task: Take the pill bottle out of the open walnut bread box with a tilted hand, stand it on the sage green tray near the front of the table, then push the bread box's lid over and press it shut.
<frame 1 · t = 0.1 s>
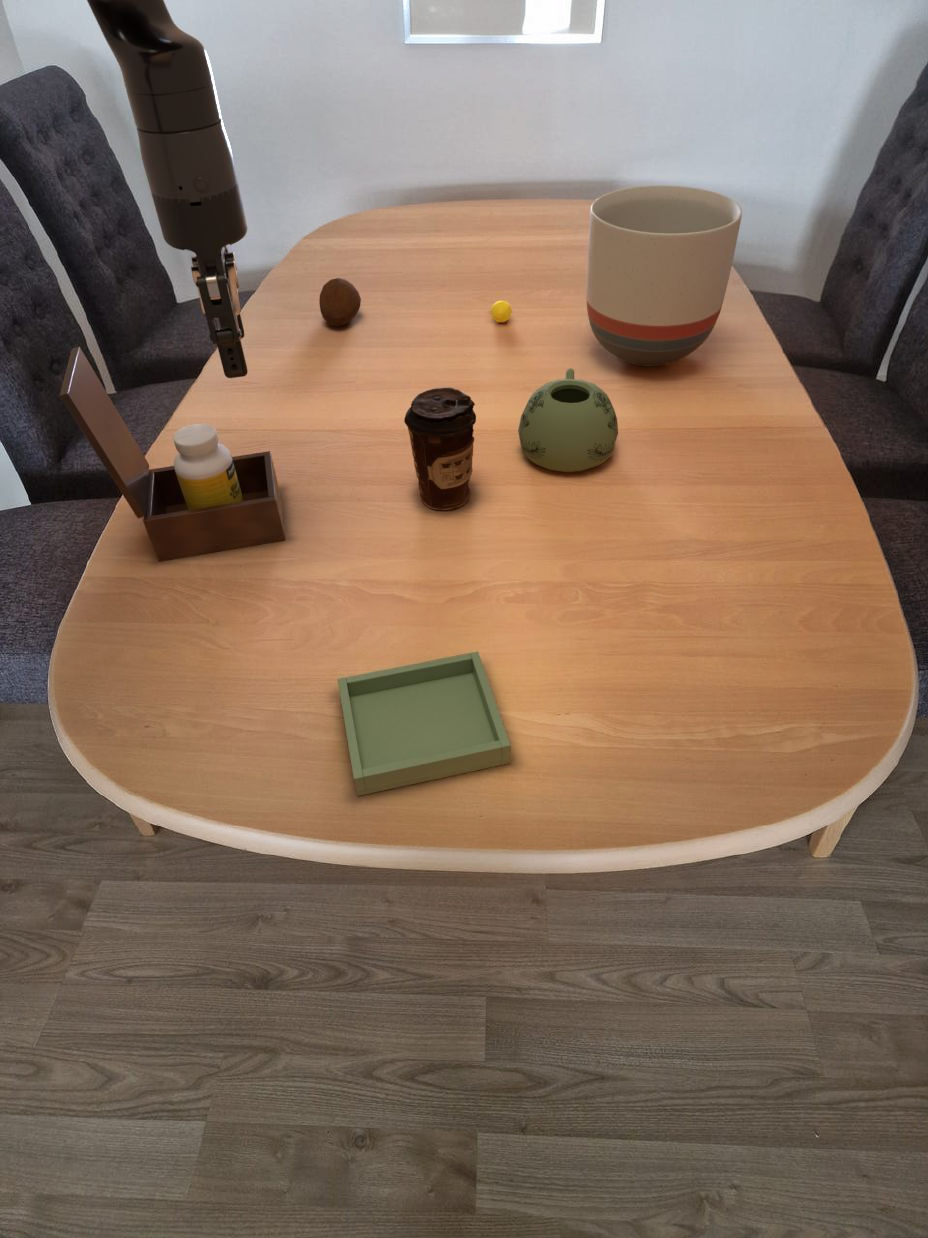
hand: (235, 356, 82), 22 cm above the table, tool pointing down, fingers open, 8 cm apart
tray: (422, 728, 74), on the table
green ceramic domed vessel: (566, 446, 108), on the table
breadbox lid: (109, 434, 87), point 14 cm above the table, hinge at 100.0°
coffee cup: (446, 497, 100), on the table
yellow rounded lump: (500, 319, 137), on the table
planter: (646, 356, 126), on the table
breadbox: (221, 524, 98), on the table
pill bottle: (220, 520, 97), point 1 cm above the table, touching breadbox
potato: (343, 320, 139), on the table
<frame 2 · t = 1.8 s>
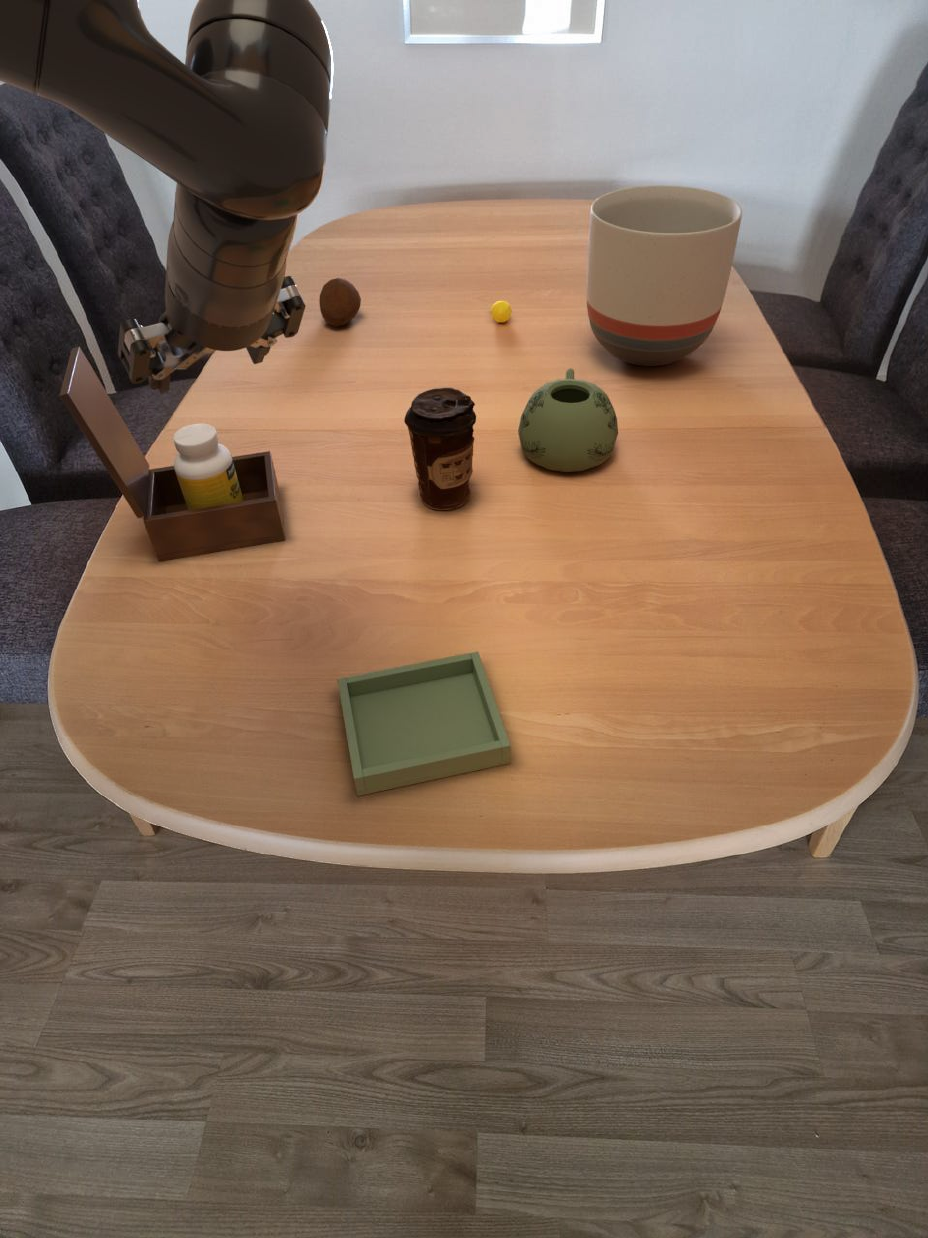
hand: (206, 367, 70), 26 cm above the table, tool tilted 45°, fingers open, 8 cm apart
nothing on the table moved.
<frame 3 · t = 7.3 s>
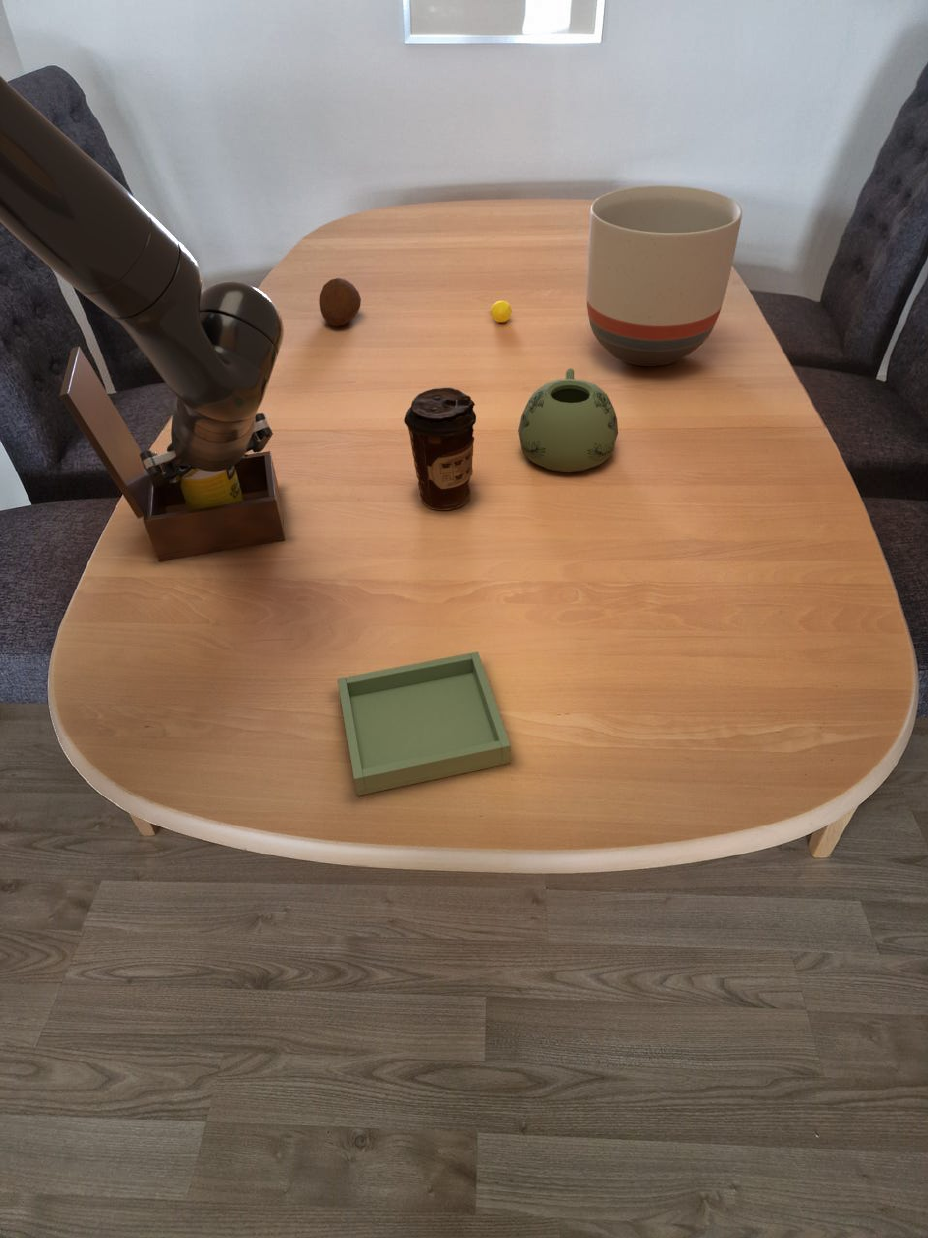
hand: (202, 469, 94), 7 cm above the table, tool tilted 45°, fingers closed on pill bottle, 6 cm apart
pill bottle: (220, 519, 97), point 1 cm above the table, touching breadbox, gripper
everything else where it was.
when the fingers open (7 cm above the table, at t = 20.5 s): pill bottle stays where it is, resting on tray.
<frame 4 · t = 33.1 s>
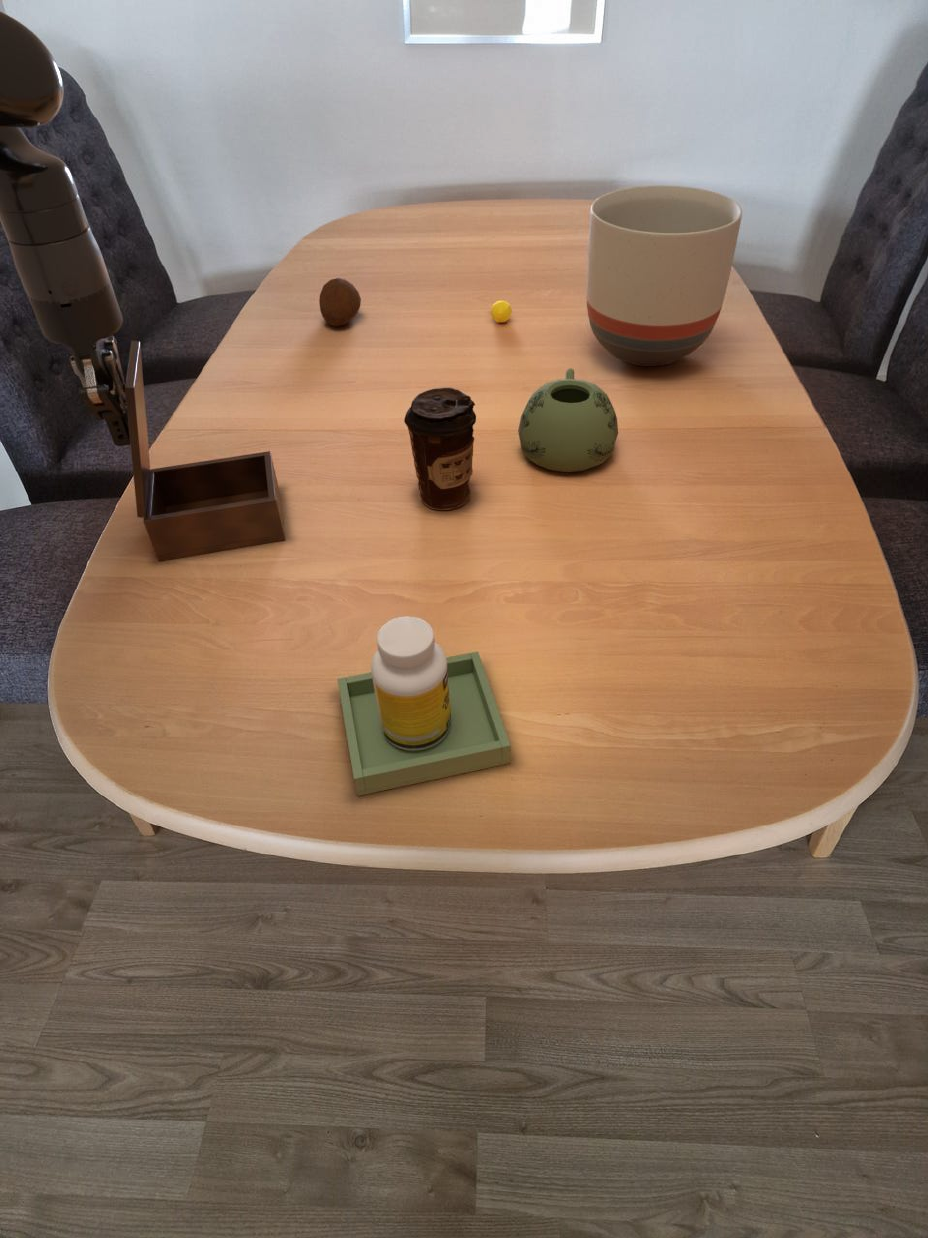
hand: (126, 441, 88), 13 cm above the table, tool pointing down, fingers closed
breadbox lid: (138, 430, 87), point 14 cm above the table, hinge at 77.1°, touching gripper
pill bottle: (416, 726, 74), resting on tray
everything else where it was.
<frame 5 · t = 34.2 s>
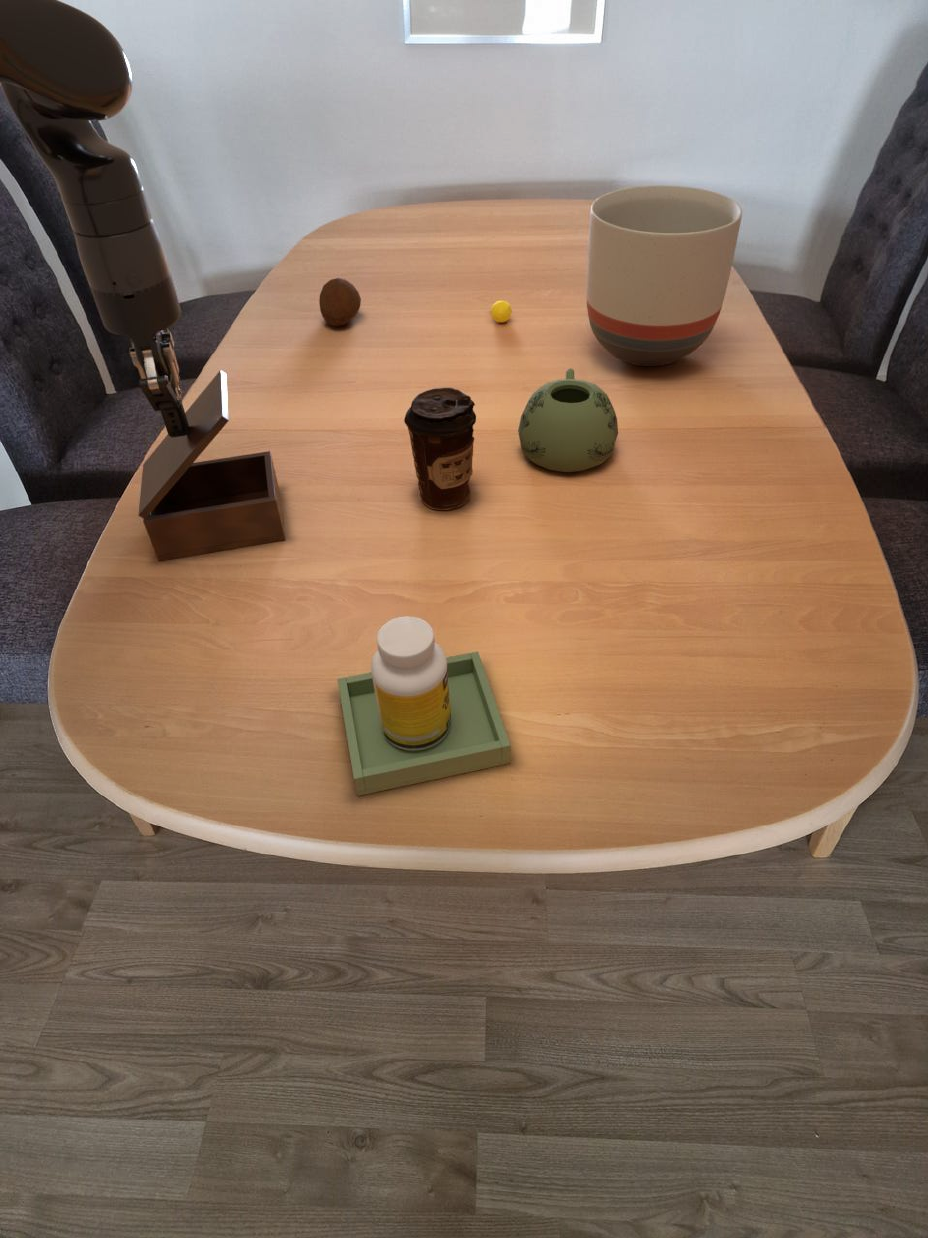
hand: (179, 433, 89), 13 cm above the table, tool pointing down, fingers closed
breadbox lid: (183, 443, 90), point 11 cm above the table, hinge at 41.8°, touching gripper
everything else where it was.
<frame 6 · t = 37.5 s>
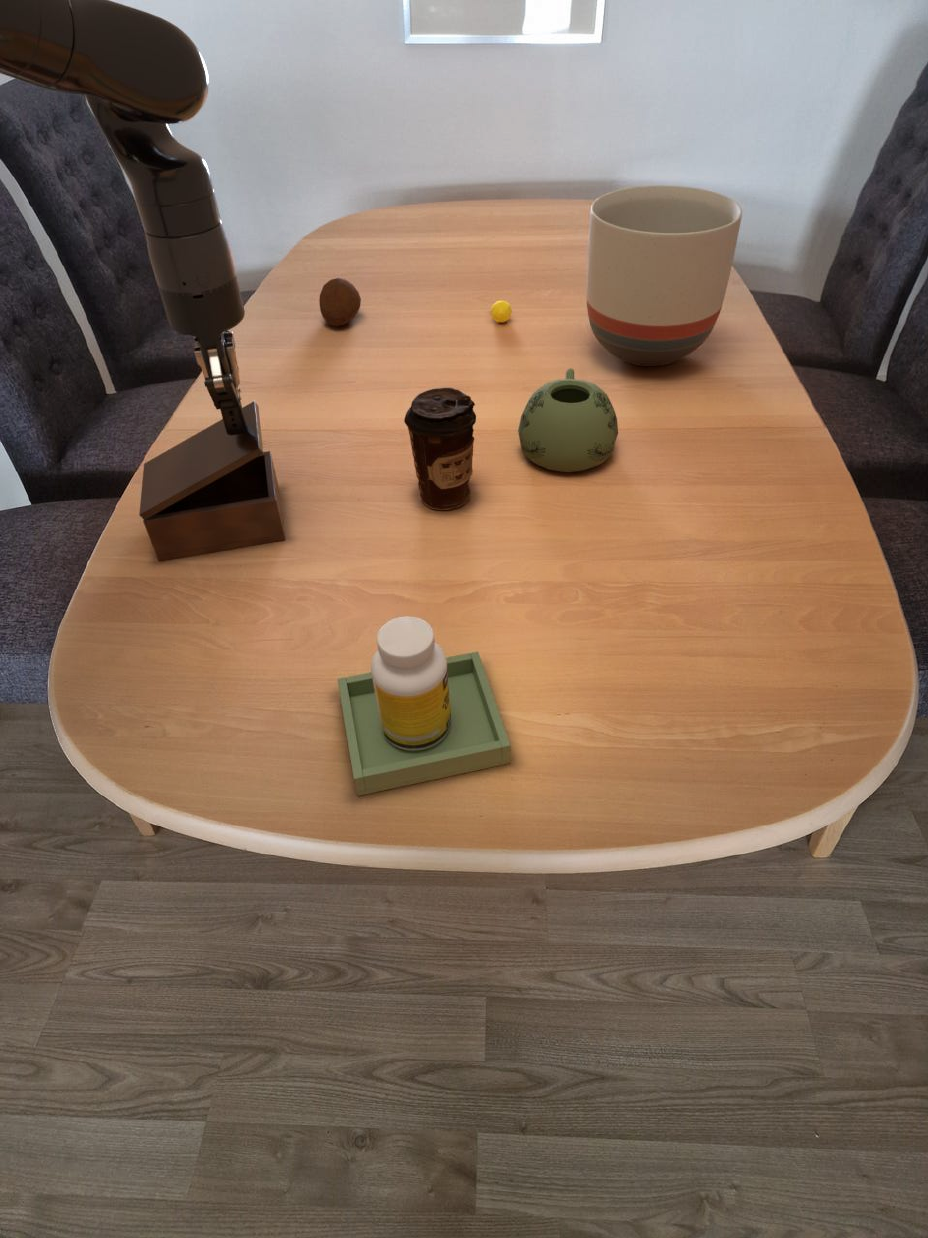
hand: (237, 431, 90), 12 cm above the table, tool pointing down, fingers closed
breadbox lid: (200, 458, 91), point 9 cm above the table, hinge at 22.7°
everything else where it was.
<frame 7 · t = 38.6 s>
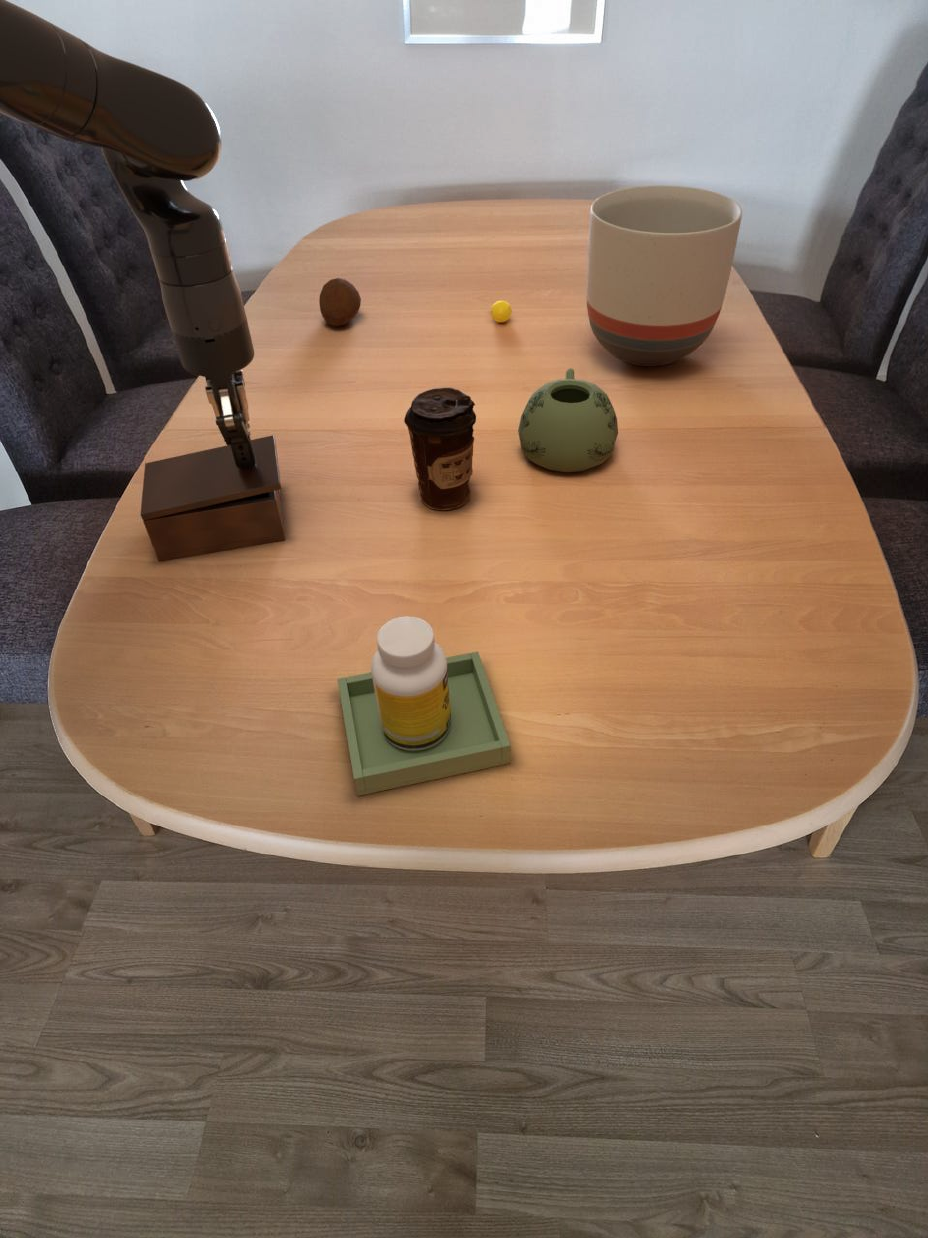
hand: (246, 464, 93), 8 cm above the table, tool pointing down, fingers closed
breadbox lid: (211, 475, 93), point 7 cm above the table, hinge at 4.3°, touching gripper
everything else where it was.
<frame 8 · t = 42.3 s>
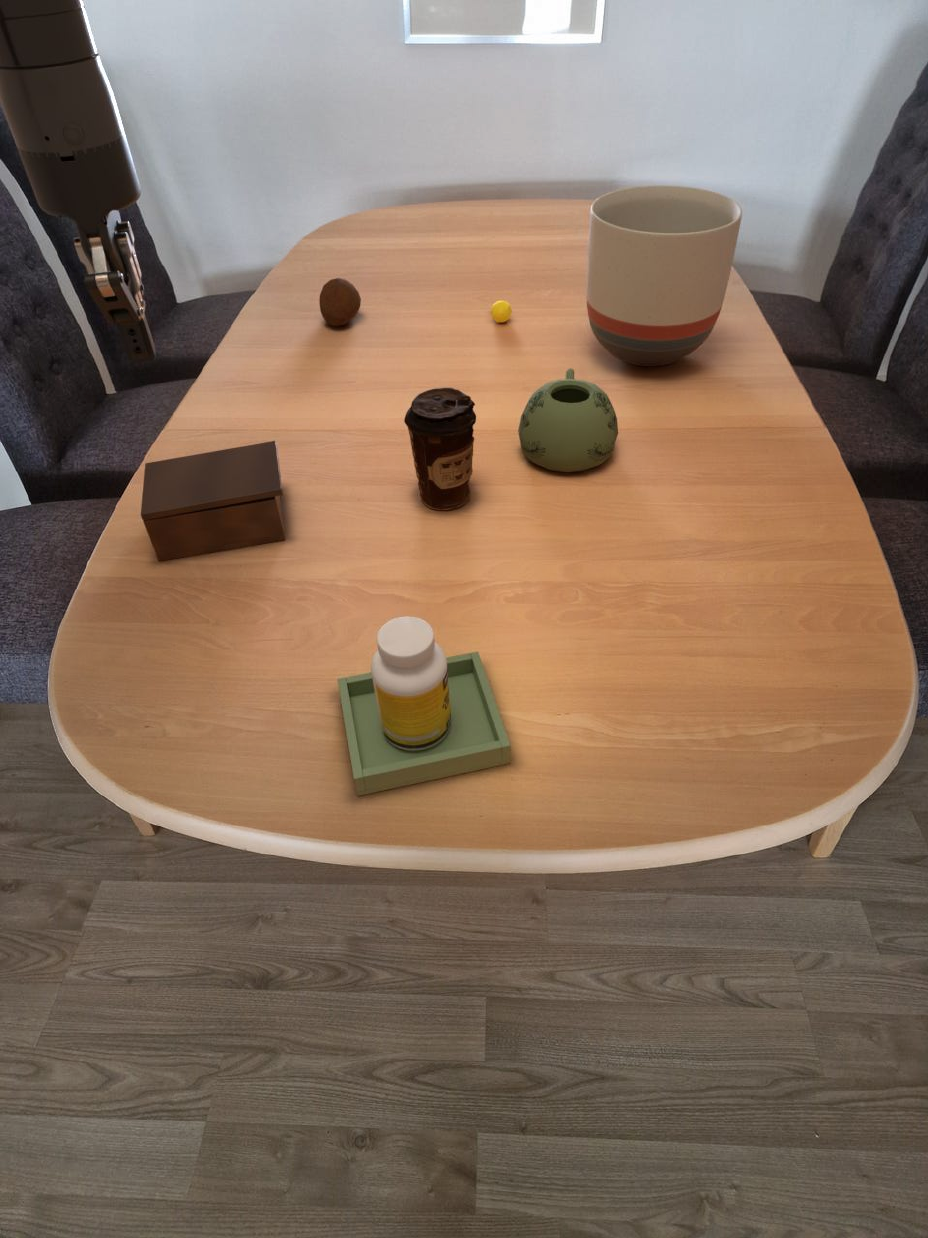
hand: (143, 358, 70), 27 cm above the table, tool pointing down, fingers closed
breadbox lid: (212, 478, 93), point 6 cm above the table, hinge at 1.5°
everything else where it was.
at the end: pill bottle inside the target area in the tray (0.5 cm from its centre), point 0.4 cm above the tray's base; pill bottle tilted 0°; breadbox lid at +2° (first picture: +100°) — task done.
